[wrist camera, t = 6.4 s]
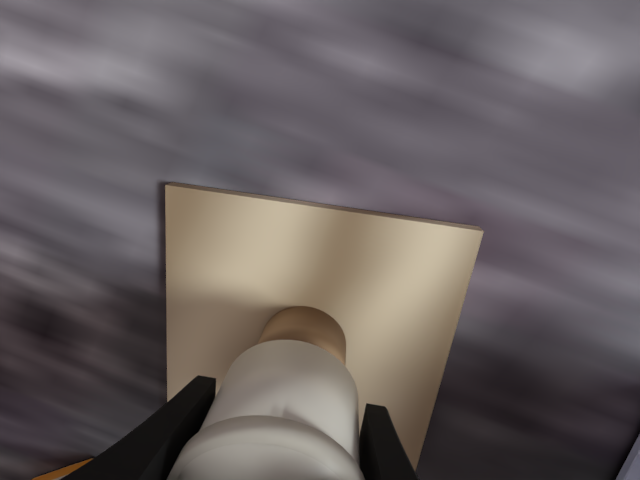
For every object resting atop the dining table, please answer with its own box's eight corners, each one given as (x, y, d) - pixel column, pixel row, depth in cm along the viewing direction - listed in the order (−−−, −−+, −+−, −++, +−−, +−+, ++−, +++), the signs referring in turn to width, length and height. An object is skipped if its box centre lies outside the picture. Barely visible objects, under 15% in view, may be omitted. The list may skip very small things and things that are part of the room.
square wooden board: (478, 226, 14) (522, 267, 11) (413, 460, 18) (428, 550, 15) (172, 182, 15) (110, 206, 11) (173, 419, 19) (127, 496, 15)
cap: (378, 349, 12) (389, 460, 8) (349, 465, 14) (348, 601, 10) (223, 321, 12) (164, 417, 8) (213, 439, 14) (161, 564, 10)
